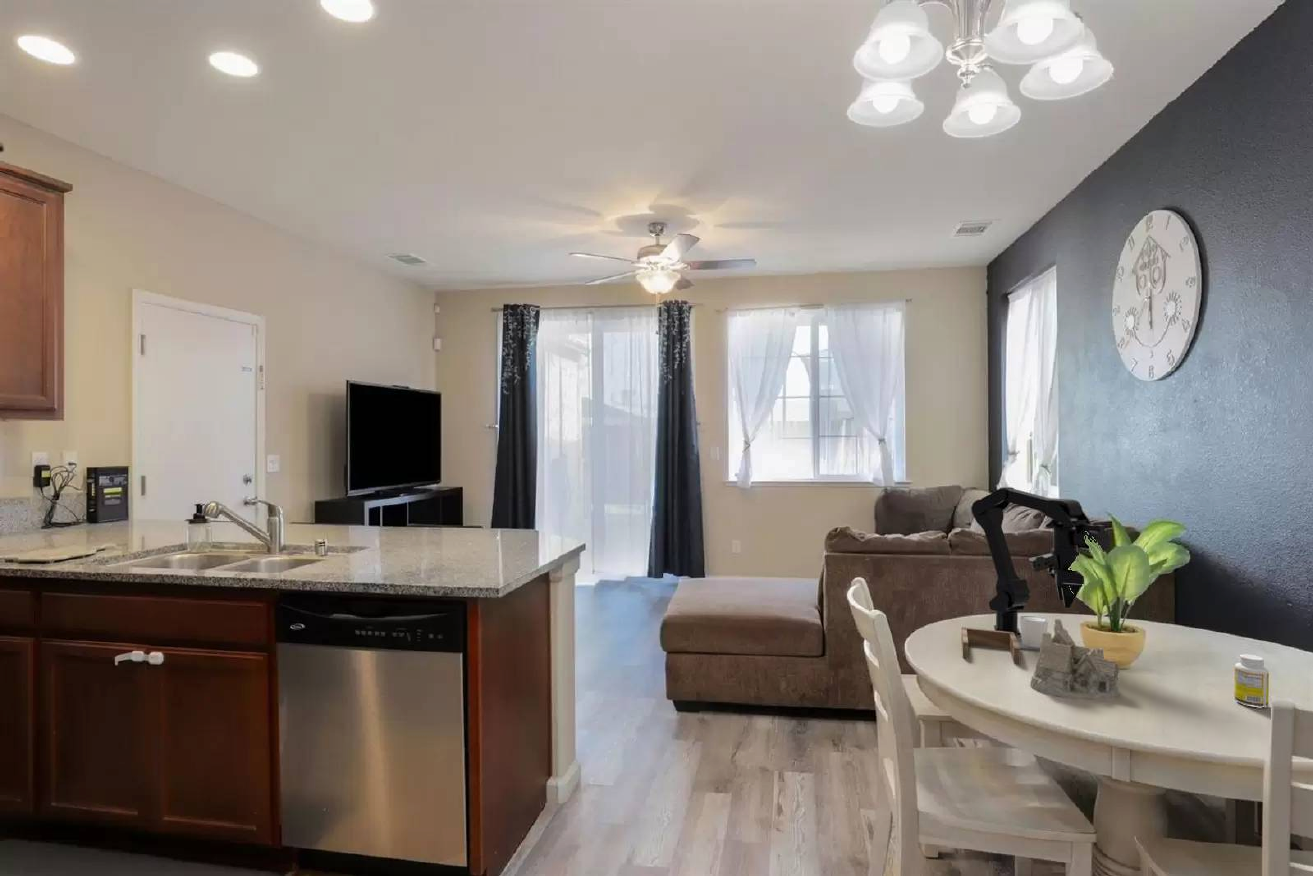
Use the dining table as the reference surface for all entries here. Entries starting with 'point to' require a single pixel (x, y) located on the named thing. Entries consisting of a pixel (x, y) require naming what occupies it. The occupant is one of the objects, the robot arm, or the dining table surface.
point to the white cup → (1032, 630)
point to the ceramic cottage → (1073, 669)
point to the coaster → (1024, 647)
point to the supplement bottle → (1251, 681)
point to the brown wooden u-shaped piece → (990, 640)
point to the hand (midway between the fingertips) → (1064, 603)
